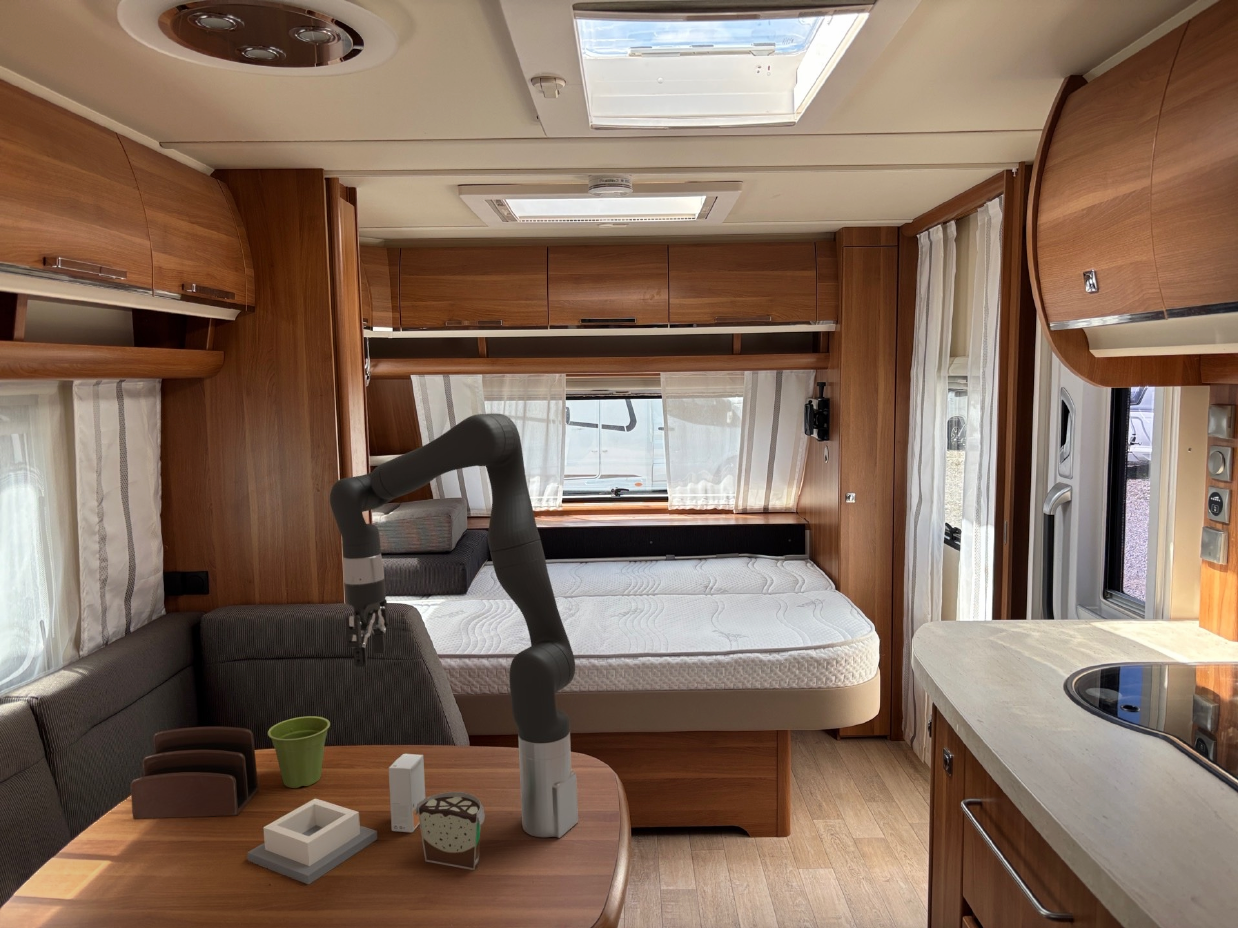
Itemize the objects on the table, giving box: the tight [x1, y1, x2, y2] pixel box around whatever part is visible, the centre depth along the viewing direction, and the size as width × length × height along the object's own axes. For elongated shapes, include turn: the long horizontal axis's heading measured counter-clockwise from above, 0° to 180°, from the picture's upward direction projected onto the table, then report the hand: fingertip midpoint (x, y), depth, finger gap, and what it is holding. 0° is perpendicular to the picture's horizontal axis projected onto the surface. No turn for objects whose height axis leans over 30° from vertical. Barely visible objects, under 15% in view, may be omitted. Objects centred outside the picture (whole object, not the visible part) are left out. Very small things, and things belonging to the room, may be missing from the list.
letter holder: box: [129, 726, 260, 820], centre depth 162 cm, size 10×20×14 cm, turn 91°
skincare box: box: [388, 753, 426, 833], centre depth 153 cm, size 6×4×12 cm
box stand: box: [246, 798, 378, 885], centre depth 145 cm, size 15×15×6 cm
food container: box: [415, 791, 486, 871], centre depth 142 cm, size 12×6×10 cm, turn 71°
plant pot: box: [267, 715, 331, 789], centre depth 171 cm, size 12×12×11 cm
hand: (370, 659), depth 165 cm, fingers open, 8 cm apart
